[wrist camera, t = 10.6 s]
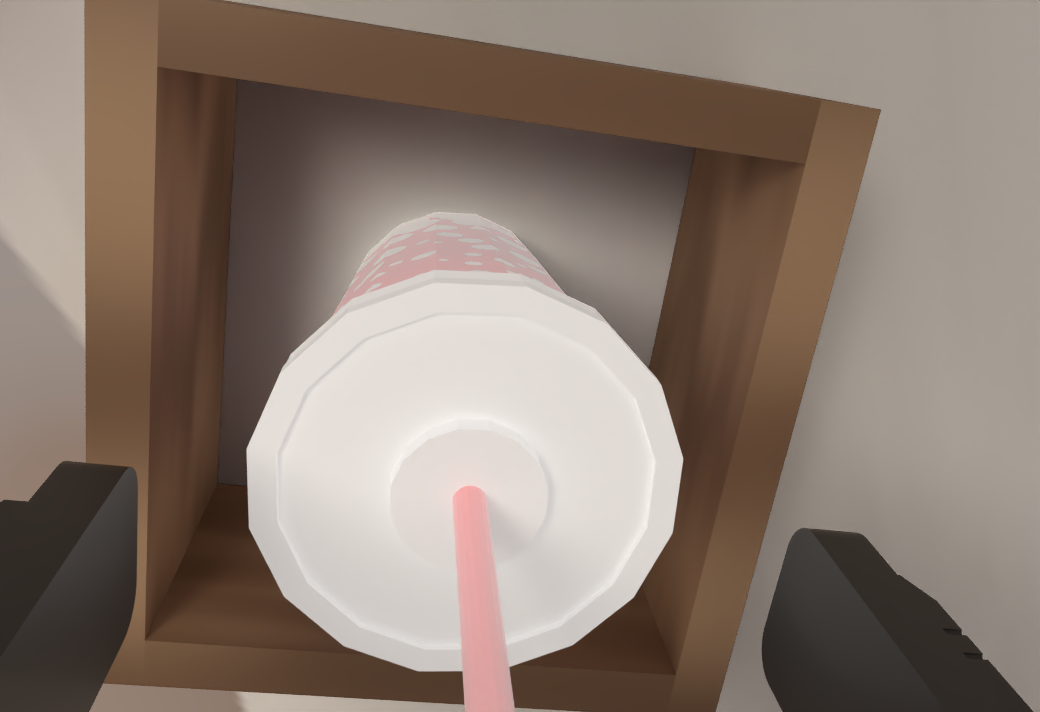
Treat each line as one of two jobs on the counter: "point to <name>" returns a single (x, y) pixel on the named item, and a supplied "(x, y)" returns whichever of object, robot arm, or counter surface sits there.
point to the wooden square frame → (675, 363)
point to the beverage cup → (462, 461)
